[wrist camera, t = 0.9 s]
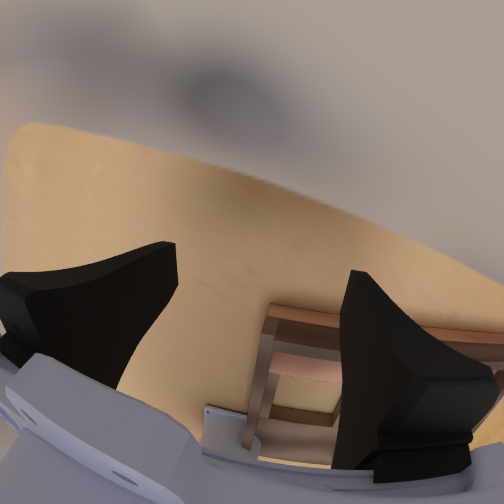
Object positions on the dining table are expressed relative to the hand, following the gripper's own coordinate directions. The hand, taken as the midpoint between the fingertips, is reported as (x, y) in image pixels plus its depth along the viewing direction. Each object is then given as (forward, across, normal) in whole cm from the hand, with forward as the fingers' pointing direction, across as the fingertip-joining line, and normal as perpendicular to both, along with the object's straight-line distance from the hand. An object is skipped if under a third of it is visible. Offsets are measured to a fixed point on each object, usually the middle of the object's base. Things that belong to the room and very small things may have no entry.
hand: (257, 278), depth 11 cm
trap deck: (+9, -13, +20) cm, 25 cm away
